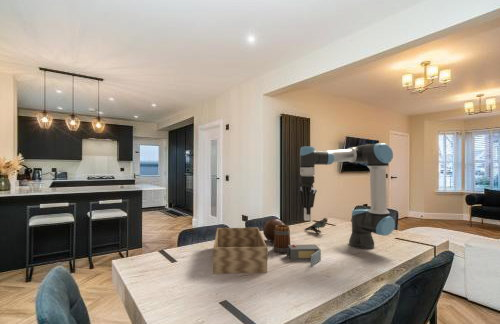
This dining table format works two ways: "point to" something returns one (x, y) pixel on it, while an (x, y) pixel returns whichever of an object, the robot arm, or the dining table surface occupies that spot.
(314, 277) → the dining table surface
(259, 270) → the box
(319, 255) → the side door
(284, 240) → the mug
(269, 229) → the coconut
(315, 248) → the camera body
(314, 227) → the bird figurine
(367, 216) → the robot arm
